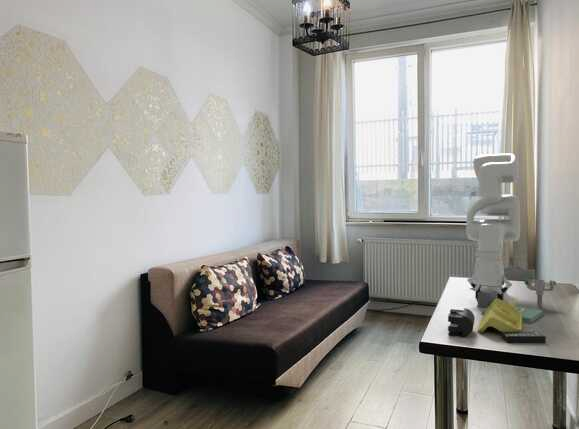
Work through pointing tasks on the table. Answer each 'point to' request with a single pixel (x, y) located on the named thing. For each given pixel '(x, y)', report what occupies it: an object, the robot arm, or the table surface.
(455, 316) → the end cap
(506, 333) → the multiport hub
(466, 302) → the table surface
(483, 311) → the board
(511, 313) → the plastic component
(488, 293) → the block
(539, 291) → the mechanical component
